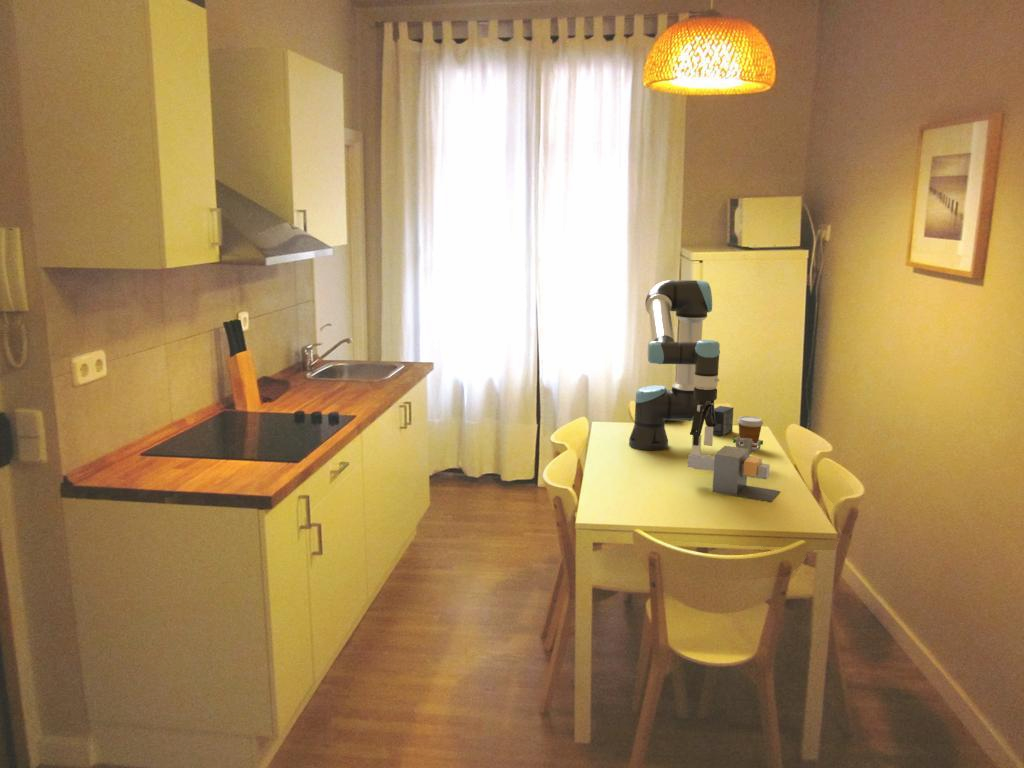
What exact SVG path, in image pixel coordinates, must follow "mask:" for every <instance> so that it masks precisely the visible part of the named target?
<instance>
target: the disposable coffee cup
mask: <svg viewBox="0 0 1024 768" xmlns="http://www.w3.org/2000/svg"><path fill="white" fill-rule="evenodd" d="M737 424H738V436H739V437H738V438H751V439H752V441H753V443H757V442H758V440H760V434H761V430H762V426H763V424H764V422H763V419H762V418H761V417H757V416H749V415H746V416H745V415H742V416H740V417H738V420H737ZM739 444H743V442H740V443H739ZM757 447H758V446H752V448H757ZM752 451H753V450H751V452H752Z"/></svg>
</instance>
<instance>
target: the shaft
mask: <svg viewBox="0 0 1024 768" xmlns="http://www.w3.org/2000/svg"><path fill="white" fill-rule="evenodd" d="M714 459H715V455H709V454H703V453H700V455H694V454H692V452H691V453H690V454H688V455H687V468H692V469H698V470H704V471H710V472H714ZM770 467H771V465H770V464H769V463H760V464H759V465H758V466H757V476H751V475H744V474H743V472H744V461H743V462H742V465H741V476H747V478H748V477H749V478H755V479H760V480H767V479H768V478H769V477H770V469H771V468H770Z"/></svg>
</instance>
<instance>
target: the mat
mask: <svg viewBox="0 0 1024 768" xmlns="http://www.w3.org/2000/svg"><path fill="white" fill-rule="evenodd" d="M780 492H781V491H780V490H777V489H770V488H765V487H758V486H752V485H747V484H746V486H745V487H744V488H743V489H742V490H741V492H740V493H739V494H738V495H737V498H743V499H749V500H755V501H759V500H760V501H761V502H765V501H767V502H766V503H771V502H772V503H773V502H774V500H775V499H776V498H777V496H778V495H779V494H780Z"/></svg>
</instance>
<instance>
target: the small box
mask: <svg viewBox="0 0 1024 768" xmlns="http://www.w3.org/2000/svg"><path fill="white" fill-rule="evenodd" d="M714 409H715V420H716V423H715V424H716V427H713V426H712V427H713V436H715V435H716V436H717V437H721V436H723V437H725V436H727V435H728V434H731V433H732V432H733V425H734V424H733V422H734V420H733V419H734V407H732V406H724V405H723V406H722V405H719V406H717V407H714Z"/></svg>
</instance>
